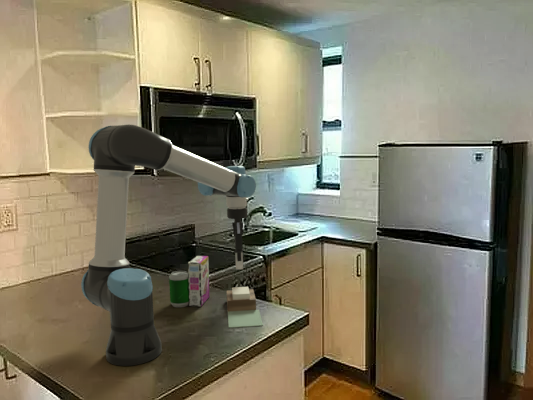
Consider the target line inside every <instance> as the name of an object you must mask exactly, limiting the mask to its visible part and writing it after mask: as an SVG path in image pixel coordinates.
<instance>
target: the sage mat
mask: <svg viewBox="0 0 533 400" xmlns="http://www.w3.org/2000/svg"><path fill="white" fill-rule="evenodd" d="M227 321H228V324H227V325H228V329H234V328H235V329H236V328H249V327H250V328H251V327H263V326H264V323H263V321H262V316H261V312H260V309H256V310H245V311H228V310H227Z"/></svg>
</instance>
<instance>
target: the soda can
mask: <svg viewBox="0 0 533 400" xmlns="http://www.w3.org/2000/svg"><path fill="white" fill-rule="evenodd" d="M168 279H169V280H168V284H169V285H168V286H169V300H170V301H169V302H170V304H171V305H172V307H174V308H184V307H188V306H189V279H188V271H185V270H177V271H176V270H175V271H172V272H171V274H170V275H168Z"/></svg>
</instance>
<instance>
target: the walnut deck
mask: <svg viewBox="0 0 533 400" xmlns="http://www.w3.org/2000/svg"><path fill="white" fill-rule="evenodd" d="M249 292H250V299H242V300H233V296H232V289H231V290H226V307H227V312H228V311H245V310H257V299H256V294H255V291H254V288H249Z"/></svg>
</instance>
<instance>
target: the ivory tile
mask: <svg viewBox="0 0 533 400" xmlns="http://www.w3.org/2000/svg"><path fill="white" fill-rule="evenodd" d="M249 289H250V288H249V286H237V287H236V286H235V287H231V290H232V296H233V300H242V299H250V292H249Z"/></svg>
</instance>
